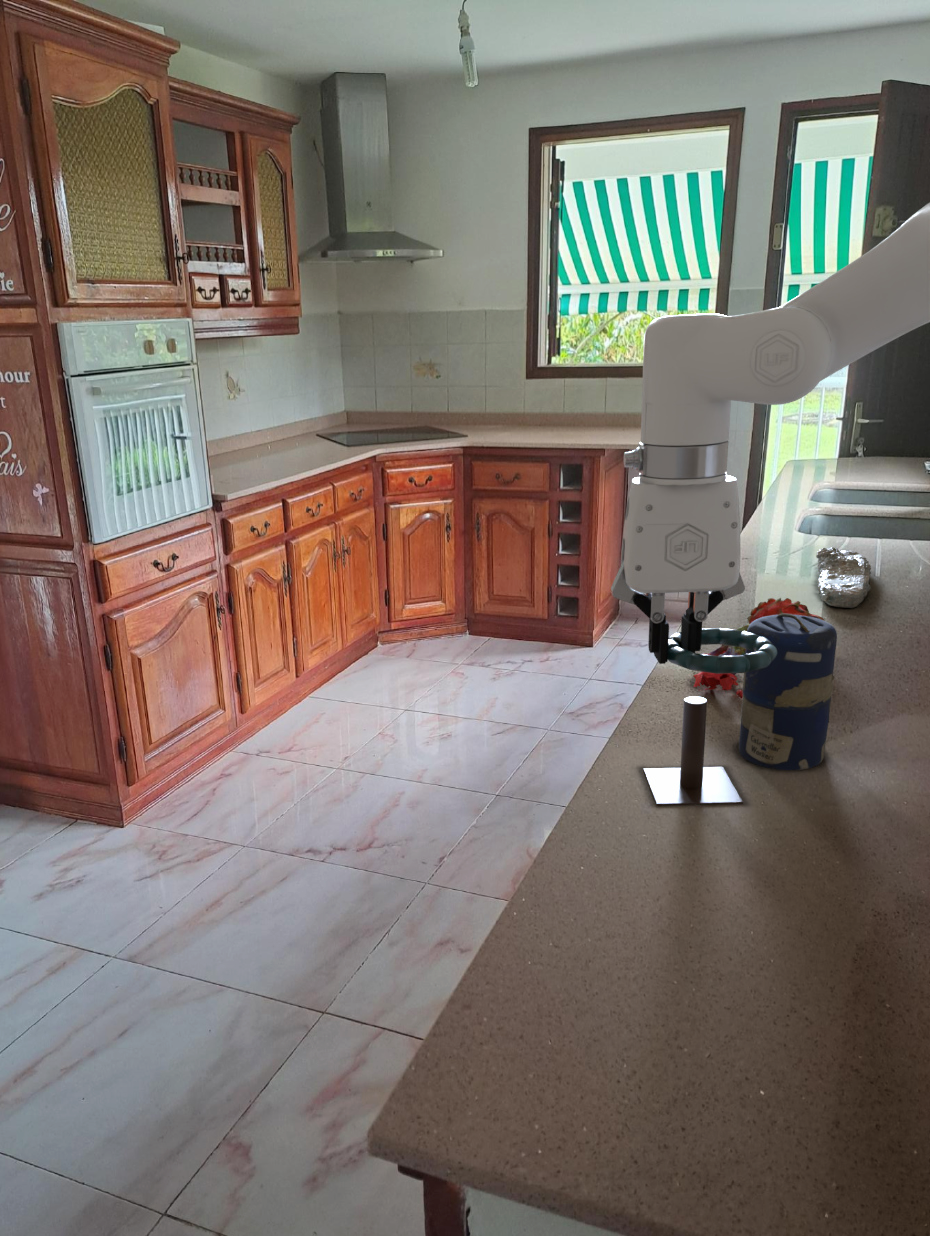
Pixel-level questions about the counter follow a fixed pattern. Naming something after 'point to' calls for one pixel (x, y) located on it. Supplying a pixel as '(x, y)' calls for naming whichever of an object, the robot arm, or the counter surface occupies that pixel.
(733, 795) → the post stand
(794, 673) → the canister
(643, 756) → the counter surface
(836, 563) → the foil wrapped parcel
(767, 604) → the dragon fruit
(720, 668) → the ring
